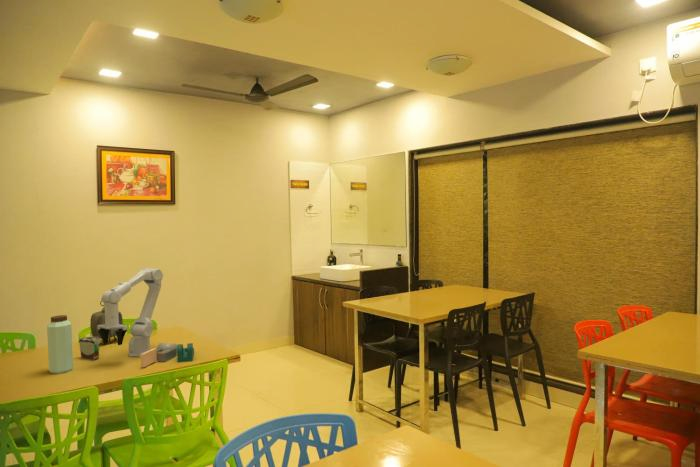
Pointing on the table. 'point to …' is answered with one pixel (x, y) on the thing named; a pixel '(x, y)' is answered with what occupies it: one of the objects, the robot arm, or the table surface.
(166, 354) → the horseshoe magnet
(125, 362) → the table surface
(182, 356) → the bracket
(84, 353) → the food container
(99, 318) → the tabletop clock
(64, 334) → the water bottle
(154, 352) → the orange wooden slat
